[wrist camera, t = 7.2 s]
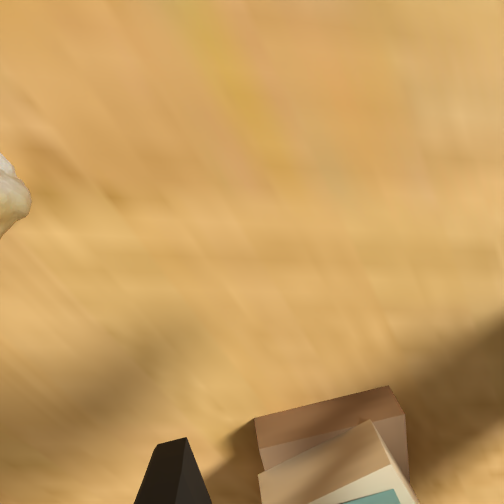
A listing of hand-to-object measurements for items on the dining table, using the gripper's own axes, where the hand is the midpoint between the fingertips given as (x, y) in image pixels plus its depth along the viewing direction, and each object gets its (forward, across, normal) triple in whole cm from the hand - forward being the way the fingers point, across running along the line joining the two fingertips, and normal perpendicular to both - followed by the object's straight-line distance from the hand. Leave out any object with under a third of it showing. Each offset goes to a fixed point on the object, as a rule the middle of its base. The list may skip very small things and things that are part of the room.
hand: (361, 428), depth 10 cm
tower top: (+8, 0, +13) cm, 16 cm away
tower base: (+11, 0, +13) cm, 17 cm away
